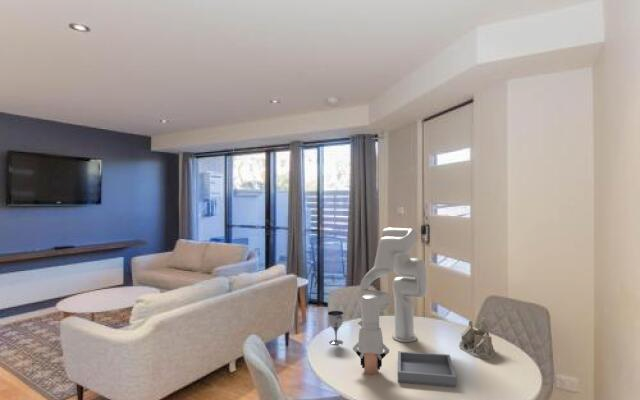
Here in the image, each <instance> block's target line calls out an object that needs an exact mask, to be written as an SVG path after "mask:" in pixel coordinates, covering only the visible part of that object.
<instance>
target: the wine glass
mask: <svg viewBox="0 0 640 400" xmlns="http://www.w3.org/2000/svg"><path fill="white" fill-rule="evenodd" d="M327 320H328V323H329V324H328V325H329V326H330V327H331V328H332V329H333V331H334V335H335V337H334V339H331V340H330V341H329V342H328V343H329V344H330V345H332V346H340V345H343V344H344V341H343V340H341V339H338V331H339V329H340V328H341V327H342V325H343V324H344V311H341V310H329V311H328V312H327Z"/></svg>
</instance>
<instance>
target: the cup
mask: <svg viewBox="0 0 640 400" xmlns="http://www.w3.org/2000/svg"><path fill="white" fill-rule="evenodd" d="M363 372H364V374H366V375H369V376H375V375H377V374H378V373H379V369H378V355H377V354H373V353H366V354H365V353H364V368H363Z"/></svg>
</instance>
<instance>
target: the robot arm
mask: <svg viewBox="0 0 640 400" xmlns="http://www.w3.org/2000/svg"><path fill="white" fill-rule="evenodd" d="M418 236H419V235H418V232H417V230H415V229H414V228H410V227H408V228H407V227H386V228H384V229H383V230H382V232H381V238H379V240H378V245H377V249H376V255H375V259H374V264H373V267H372V268H370V270H369V271H367V272H366V274H365V275H364V276H363V278H362V279H361V281H360V285H359V290H358V295H357V301H358V303H359V305H360V310H361V311H360V312H361V313H360V317H361V319H360V321H357V325H358V326H360V328H359V330H358V341H357V343H355V345H353V347H352V351H354V352H355V354H356V355H357V356H358V357H359V359H360V366H361V368H362V369H364V353H365V354H366V353H373V354H377V355H378V371H379V370H380V369H381V368H382V367H383V366H382V363H383V362H382V361H383V359H384V358H385V357H386V356H387V355H388V354H389V353H390V348H389V347H388V346H386V344H385V343H384V340H383V339H384V337H383V332H382V331H383V330H382V327H380V311H383V310H386V309H388V308H389V307H390V305H391V303H392V297H391V295H390V294H389V293H388V292H386V291H382V290H377V289H376V290H375V289H370V285H372V282H374V281H375V280H376V279H379V278H380V277H383V276H386V275H389V274H391V273H392V271H393V272H394V273H395V274H396V275H398V276H396V277H394V279H393V280H392V285H391V286H392V291H393V298H394V299H393V300H394V302H393V303H394V332H393V333H392V334H391V336H392V339H393V340H394V341H397V342H402V343H411V342H414V341H417V339H418V335H417V334H416V333H415V327H414V325H415V324H414V321H415V320H414V302H413V301H412V299H411V298H418V299H419V298H424V297H426V296H427V294H428V282H427V268H426V263H425V261H424V260H423V259H422V258H419V257H411V256H410V253H411V251H412V250H413V248H414V247H415V246H416V244H417V243H418V238H419V237H418Z"/></svg>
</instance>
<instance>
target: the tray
mask: <svg viewBox="0 0 640 400" xmlns="http://www.w3.org/2000/svg"><path fill="white" fill-rule="evenodd" d="M456 374H457V373H456V371H455V369H454V365H453V362H452V358H451V355H450V354H445V353H443V354H442V353H441V354H440V353H431V352H430V353H428V352H427V353H426V352H416V351H415V352H414V351H403V350H402V351H397V383H402V384H403V383H404V384H415V385H426V386H437V387H449V388H457V375H456Z"/></svg>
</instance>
